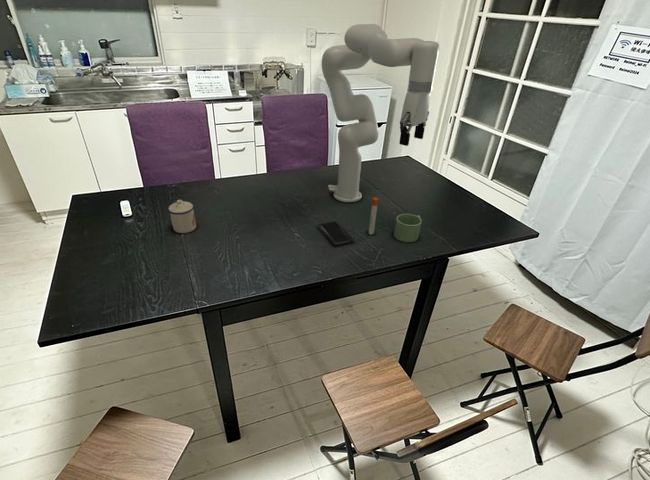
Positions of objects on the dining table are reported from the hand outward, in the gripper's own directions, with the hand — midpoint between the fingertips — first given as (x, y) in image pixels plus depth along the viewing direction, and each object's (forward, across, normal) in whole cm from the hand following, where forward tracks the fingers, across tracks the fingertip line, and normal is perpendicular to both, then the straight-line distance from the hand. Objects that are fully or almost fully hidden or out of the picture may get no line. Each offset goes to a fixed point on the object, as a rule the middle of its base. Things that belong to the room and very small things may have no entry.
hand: (411, 141), depth 129 cm
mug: (+34, +2, +6) cm, 34 cm away
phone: (+34, +21, -15) cm, 42 cm away
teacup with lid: (+33, +56, -62) cm, 90 cm away
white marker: (+34, +11, -5) cm, 36 cm away
